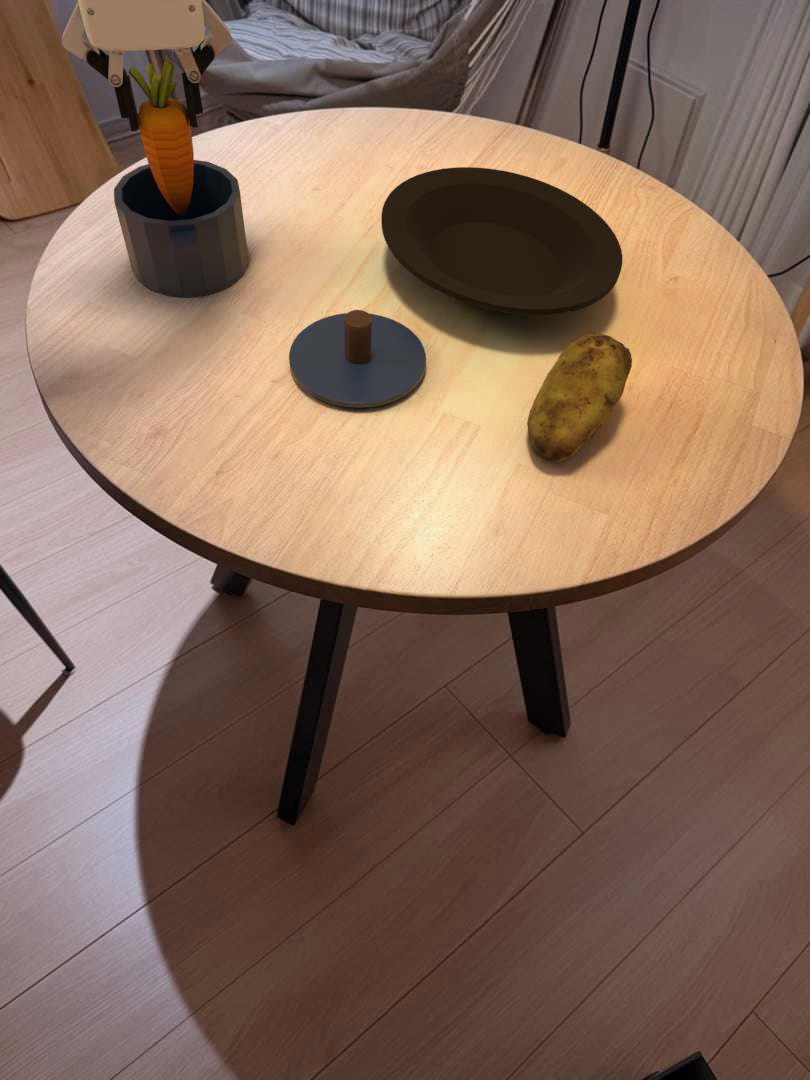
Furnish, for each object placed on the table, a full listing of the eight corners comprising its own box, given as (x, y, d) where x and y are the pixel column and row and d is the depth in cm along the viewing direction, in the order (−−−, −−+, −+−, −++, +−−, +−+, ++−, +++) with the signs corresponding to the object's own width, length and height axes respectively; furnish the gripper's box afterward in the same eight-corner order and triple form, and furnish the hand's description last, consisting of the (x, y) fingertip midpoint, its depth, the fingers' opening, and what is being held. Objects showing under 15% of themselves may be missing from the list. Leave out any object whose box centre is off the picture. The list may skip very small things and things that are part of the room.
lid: (301, 420, 74) (297, 374, 70) (281, 329, 82) (276, 282, 77) (440, 402, 77) (445, 356, 72) (407, 315, 84) (410, 269, 80)
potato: (488, 431, 75) (501, 365, 68) (578, 374, 80) (597, 309, 74) (552, 483, 71) (572, 419, 65) (642, 420, 76) (668, 356, 70)
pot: (135, 319, 82) (115, 245, 75) (130, 222, 92) (112, 150, 85) (257, 306, 84) (248, 234, 77) (239, 213, 94) (230, 142, 87)
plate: (655, 300, 88) (672, 256, 84) (502, 387, 78) (511, 342, 74) (485, 190, 100) (491, 146, 96) (334, 253, 90) (333, 207, 86)
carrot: (149, 222, 82) (114, 67, 70) (171, 198, 85) (141, 46, 73) (192, 232, 82) (164, 77, 70) (213, 207, 85) (190, 55, 73)
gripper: (224, -132, 65) (248, 99, 79) (5, -131, 62) (72, 109, 76) (234, -103, 61) (257, 136, 75) (-1, -100, 58) (71, 148, 72)
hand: (163, 120), depth 76 cm, fingers closed on carrot, 4 cm apart
